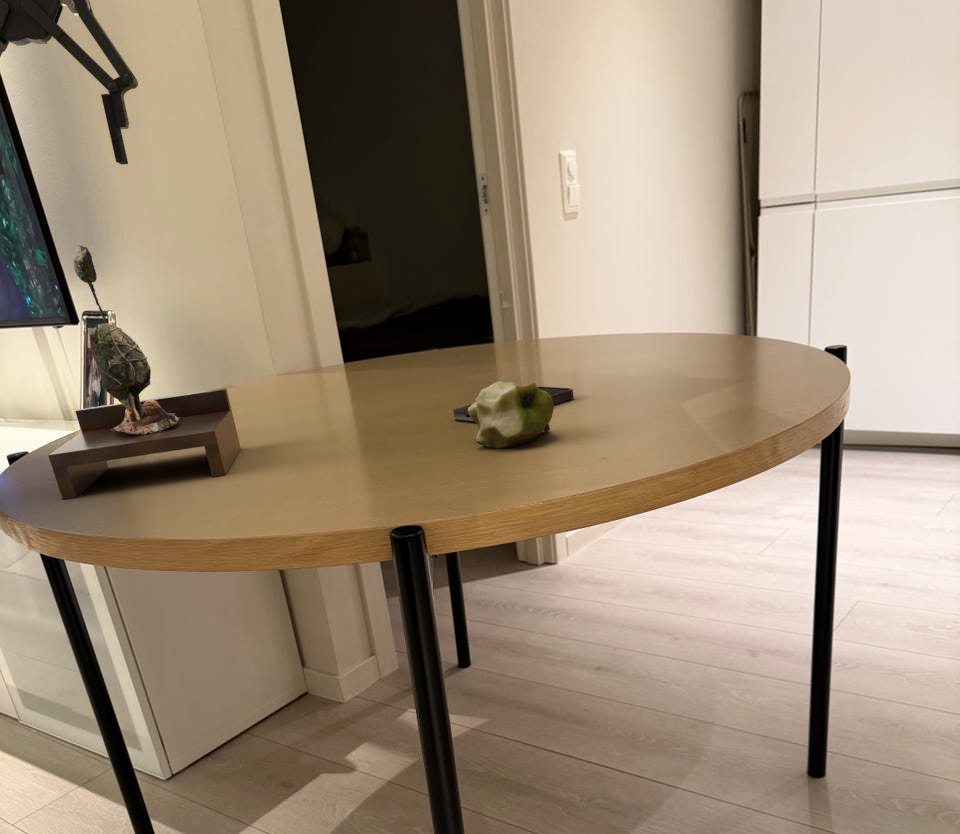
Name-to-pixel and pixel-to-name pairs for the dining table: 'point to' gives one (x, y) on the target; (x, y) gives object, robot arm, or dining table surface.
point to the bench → (146, 438)
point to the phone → (555, 393)
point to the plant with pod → (122, 365)
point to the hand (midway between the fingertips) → (60, 168)
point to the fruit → (511, 414)
